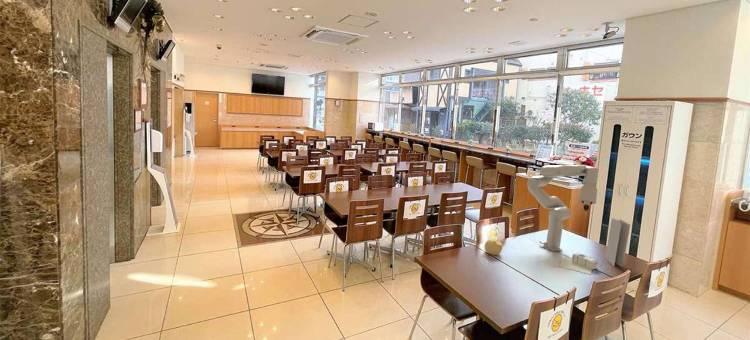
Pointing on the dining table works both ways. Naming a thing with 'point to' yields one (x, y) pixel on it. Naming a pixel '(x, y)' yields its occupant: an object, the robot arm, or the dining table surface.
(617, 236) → the upright grey panel
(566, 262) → the mat
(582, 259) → the syrup box
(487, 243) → the sculpture
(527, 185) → the robot arm
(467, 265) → the dining table surface
